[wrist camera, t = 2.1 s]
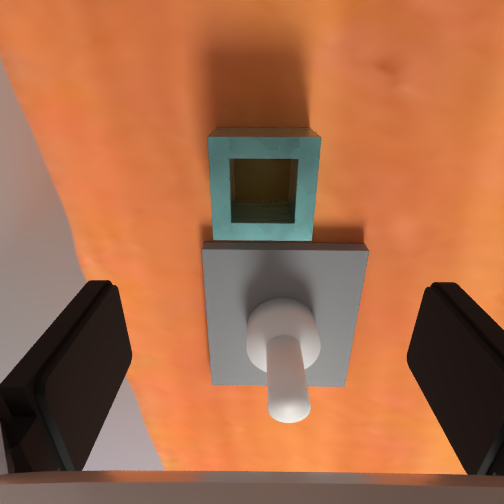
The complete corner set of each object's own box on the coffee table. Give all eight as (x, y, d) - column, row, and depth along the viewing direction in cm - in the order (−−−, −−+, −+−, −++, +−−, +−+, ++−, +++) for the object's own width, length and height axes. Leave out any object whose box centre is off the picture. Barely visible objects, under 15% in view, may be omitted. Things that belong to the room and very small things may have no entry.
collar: (216, 127, 25) (207, 136, 20) (309, 127, 25) (321, 137, 20) (220, 215, 28) (213, 239, 24) (303, 215, 28) (311, 240, 24)
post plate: (204, 241, 29) (179, 316, 20) (364, 243, 29) (414, 318, 20) (213, 373, 36) (198, 474, 27) (341, 375, 36) (370, 477, 27)
